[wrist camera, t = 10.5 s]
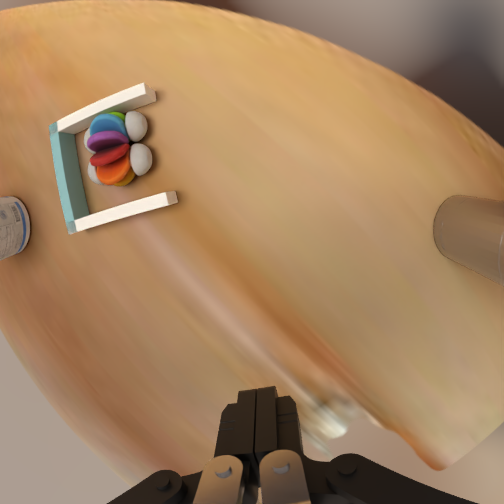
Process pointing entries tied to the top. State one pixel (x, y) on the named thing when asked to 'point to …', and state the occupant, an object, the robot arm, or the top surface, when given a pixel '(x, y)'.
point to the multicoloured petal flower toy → (117, 148)
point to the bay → (70, 169)
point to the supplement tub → (13, 226)
